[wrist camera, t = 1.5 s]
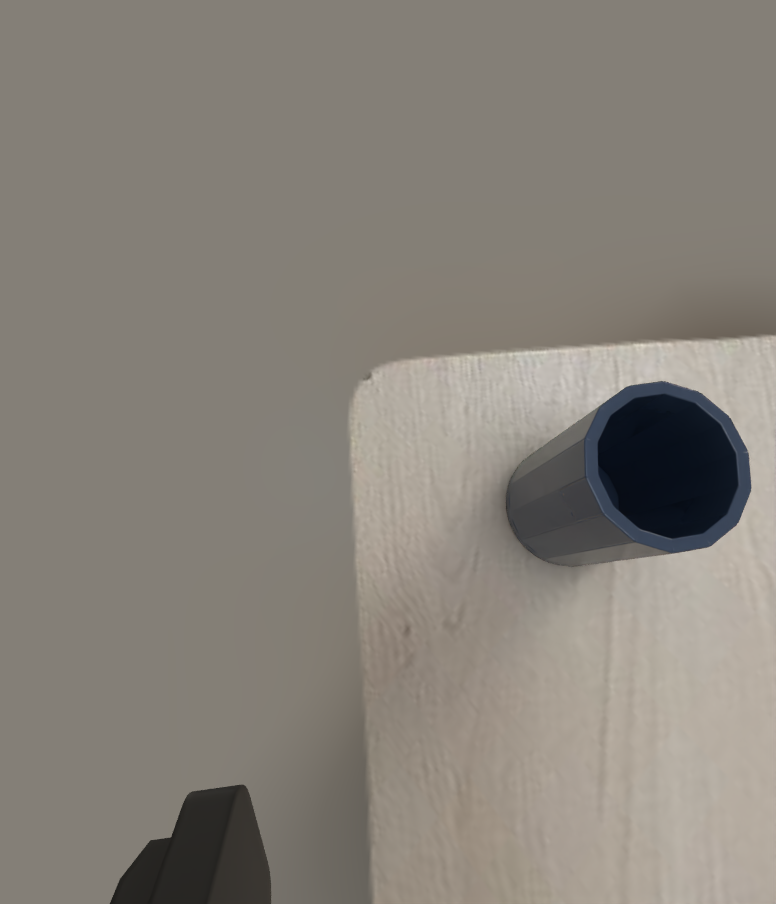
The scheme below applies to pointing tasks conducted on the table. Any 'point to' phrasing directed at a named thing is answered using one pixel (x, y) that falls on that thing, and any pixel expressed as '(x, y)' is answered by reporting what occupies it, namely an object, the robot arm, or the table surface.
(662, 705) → the table surface
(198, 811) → the robot arm
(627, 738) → the table surface
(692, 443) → the cup
